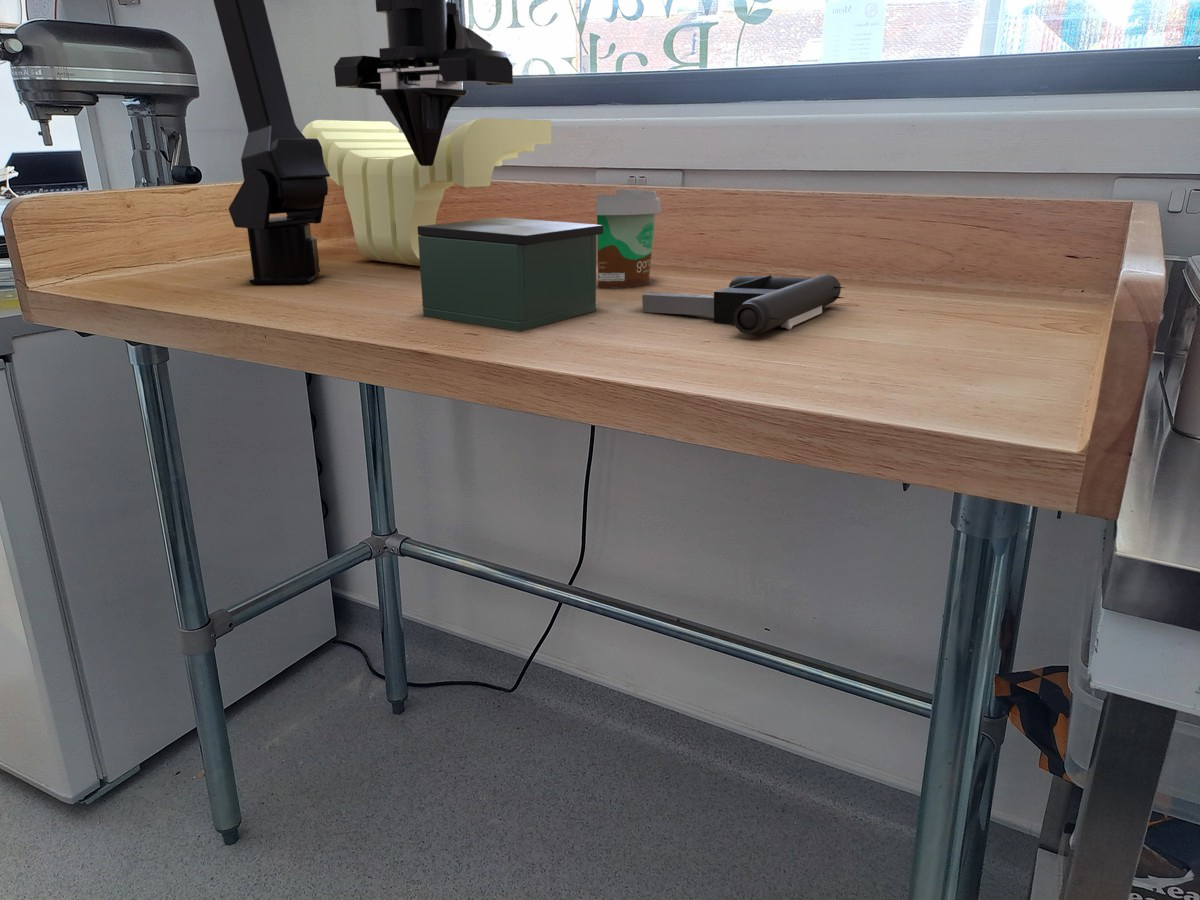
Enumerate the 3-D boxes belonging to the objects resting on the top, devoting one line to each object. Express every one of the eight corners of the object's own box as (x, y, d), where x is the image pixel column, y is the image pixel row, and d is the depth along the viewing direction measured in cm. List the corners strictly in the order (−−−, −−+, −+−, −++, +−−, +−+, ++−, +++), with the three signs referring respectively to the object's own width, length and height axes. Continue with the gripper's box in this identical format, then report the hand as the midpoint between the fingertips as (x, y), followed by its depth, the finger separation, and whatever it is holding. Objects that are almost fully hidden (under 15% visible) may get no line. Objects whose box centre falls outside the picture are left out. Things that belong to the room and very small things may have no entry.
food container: (650, 292, 93) (653, 196, 89) (595, 289, 94) (595, 195, 90) (665, 275, 104) (668, 189, 101) (615, 273, 105) (616, 188, 102)
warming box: (596, 311, 82) (596, 233, 80) (519, 331, 73) (517, 244, 71) (504, 298, 88) (501, 226, 86) (423, 316, 79) (417, 235, 77)
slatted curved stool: (310, 257, 118) (296, 119, 112) (399, 246, 130) (389, 121, 124) (468, 277, 101) (461, 117, 95) (552, 263, 114) (550, 120, 108)
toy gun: (608, 294, 77) (777, 302, 68) (708, 269, 92) (856, 273, 84) (609, 331, 78) (776, 343, 69) (709, 300, 93) (854, 307, 85)
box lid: (603, 233, 79) (603, 225, 79) (524, 245, 70) (524, 235, 70) (501, 225, 86) (501, 217, 86) (417, 235, 77) (417, 226, 77)
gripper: (547, -8, 81) (550, 166, 86) (408, 8, 91) (418, 162, 96) (467, -26, 72) (475, 168, 78) (323, -7, 82) (339, 164, 87)
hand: (426, 165), depth 85 cm, fingers closed
